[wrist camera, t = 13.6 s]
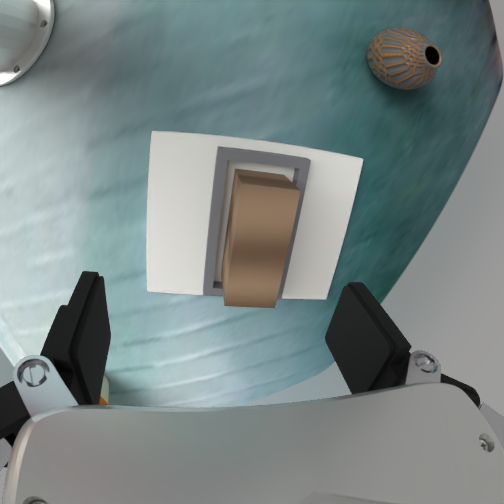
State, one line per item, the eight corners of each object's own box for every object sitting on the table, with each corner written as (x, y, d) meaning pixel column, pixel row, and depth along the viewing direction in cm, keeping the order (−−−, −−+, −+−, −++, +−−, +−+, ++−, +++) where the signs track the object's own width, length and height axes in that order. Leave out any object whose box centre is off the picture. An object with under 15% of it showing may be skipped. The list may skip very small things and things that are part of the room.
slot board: (148, 286, 36) (145, 298, 34) (153, 130, 29) (149, 132, 26) (323, 295, 40) (329, 306, 38) (359, 157, 33) (369, 162, 31)
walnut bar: (235, 168, 31) (241, 183, 25) (283, 174, 32) (300, 190, 26) (220, 274, 36) (224, 305, 30) (264, 276, 37) (274, 307, 31)
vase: (412, 87, 30) (463, 92, 22) (363, 90, 29) (409, 92, 22) (403, 33, 26) (452, 24, 19) (351, 31, 26) (395, 16, 18)
